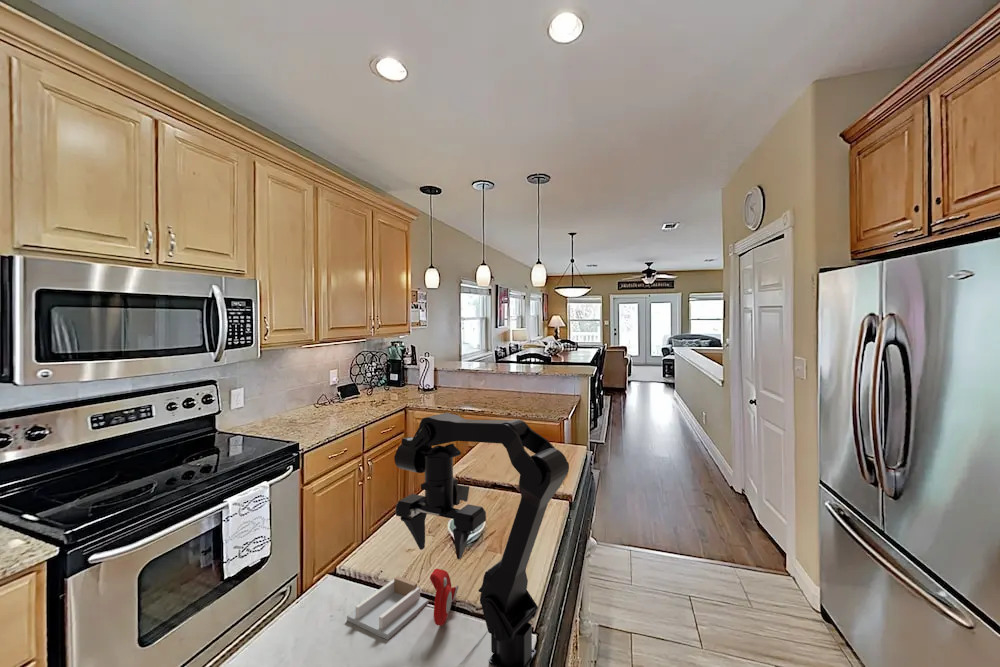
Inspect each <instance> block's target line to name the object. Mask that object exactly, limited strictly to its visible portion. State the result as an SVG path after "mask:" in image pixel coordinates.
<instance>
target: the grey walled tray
mask: <svg viewBox="0 0 1000 667" xmlns="http://www.w3.org/2000/svg"><path fill="white" fill-rule="evenodd" d="M393 578H394V579H392V580H391V581H389V582H388V583H386V584H385V585H384V586H382V587H380V588H379V589H377V591H375V592H373V593H372V594H371V595H369V596H368V597H367V598H365V599H364V600H362V601H361V602H359V603H358V604H356V605H355V609H354V610H353V611H351V612H350V613H349V614H347V616H346V621H347V622H349V623H351V624H353V625H355V626H357V627H359V628H361V629H364V630H366V631H368V632H370V633H372V634H373V635H374V634H375V635H376V636H379V637H381V638H382V639H385V640H387V641H389V639H390V638H392V637H393V636H394V635H395V634H396V633H397V632H398V631H400V630H401V629H402V628H403V627H404V626H406V625H407V624H408V623H410V621H411V620H413V618H415V617H416V616H417V615H418V614H419V613H420V612H421V611H422V610H423V609H424V608H425V607H426V606H427V605H428V604H429V599H427V598H425V597H422V596H421V588H420V587H418V583H417V582H415V581H413V580H409V579H406V578H404V577H401V576H399V575H397V576H395V577H393Z"/></svg>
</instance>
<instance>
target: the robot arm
mask: <svg viewBox="0 0 1000 667" xmlns="http://www.w3.org/2000/svg"><path fill="white" fill-rule="evenodd" d="M453 442H467V443H468V442H470V443H471V442H472V443H483V444H485V443H487V444H502V446H503V447H504V448H505V449H506V451H507V455H508V457H509V461H510V462H511V465H512V467H514V469H515V470H516V472H517V473H518V474H519V480H518V488H519V491H520V497H521V498H520V501H519V505H518V508H517V510H516V513H515V516H514V520H513V524H512V526H511V529H510V532H509V535H508V539H507V542H506V545H505V548H504V551H503V555H502V557H501V559H500V560H499V561H498V562H497V563H495V564H494V565H493V566H491V567H490V568H489V569H487V570H486V571H485V572H484V574H483V580H482V584H481V586H480V588H479V589H478V592H479V593H480V597H479V603H480V605H481V609H482V613H483V616H484V620H485V621H484V622H485V624H486V629H487V631H488V633H489V634H490V638H491V639H490V640H491V642H490V643H491V644H490V645H491V646H490V648H491V650H490V651H491V653H492V655H491V656H490V657H489V658H488V664H489V665H491V666H494V667H529V665H530V663H531V662H532V661H533V659H534V658H535V656H536V653H537V650H536V649H535V648H533V640H532V639H533V635H532V634H533V633H532V632H533V626H532V623H530V621H531V620H532V619H533V618H535V617H536V615H537V613H538V610H539V607H538V605H537V602H535V600H534V599H533V597H532V595H531V594H530V592H529V591H528V582H529V581H528V576H527V571H526V570H527V566H528V563H529V561H530V557H531V555H532V552H533V548H534V546H535V542H536V540H537V537H538V534H539V532H540V528H541V525H542V522H543V520H544V517H545V513H546V510H547V507H548V504H549V502H550V501H551V499H552V498H553V497H554V496H555V495H556V493H557V492H558V491H559V489H560V488H561V486H562V485H563V482H564V481H565V480H566V477H567V475H568V474H569V470H570V464H569V461H568V460H567V458H566V456H565V455H564V453H563V452H562V451H561V450H559V449H557V448H556V447H554V446H553V444H552V443H551V442H550V441H549V440H548V439H547V438H545V437H544V436H542V435H541V434H539V433H538V432H536V431H534V430H533V429H532V428H531V427H530V426H529V425H528V424H527V423H526V421H524V420H522V419H520V418H519V419H518V418H515V419H511V420H509V419H508V420H506V419H504V420H503V419H501V420H500V419H467V418H464V417H461V416H460V415H458V414H453V413H450V412H444V413H439V414H433V415H431V416H426V417H423V418H422V419H421V420H420V423H419V425H418V428H417V430H416V432H415V433H414V435H413V436H412V437H411V436H407V437H404V438H403V437H402V438H401V443H400V445H399V446H398V447H397V449H396V451H395V454H394V455H393V456H394V464H395V466H396V467H397V468H399V469H401V470H404V471H408V472H409V471H410V472H413V473H417V474H423V473H424V482H423V483H420V489H421V490H424V495H420V494H414V493H411V494H409V495H408V496H406V497H404V498H402V499H400V500H398V501H397V502H396V505H395V517H400V520H401V521H402V522H404V524H405V526H406V527H407V530H408V531H409V532H410V534H411V535H412V537H413V540H414V541H415V543H416V545H417V547H418V549H419V550H421V551H423V550H424V549H425V545H426V523H425V522H426V518H427V515H432V516H437V517H442V518H447V519H452V520H453V526H454V527H455V528H453V530H452V534H453V540H454V550H455V555H456V559H457V560H461V559H462V557H463V555H464V552H465V549H466V546H467V542H468V539H469V537H470V534H471V532H473V531H475V530H476V529H477V528H479V527H480V526H481V525H483V523H485V522H486V521H487V516H486V515H487V513H486V510H485V508H484V507H483V506H479V505H475V504H474V505H473V504H469V503H467V504H466V505H465V506H463V507H461V508H460V509H459V508H455V506H458V505H459V504H461V502H462V501H463V502H468V500H469V493H470V492H469V491H470V486H469V485H464V484H463V485H462V484H458V479H457V478H454V468H453V467H454V465H453V464H454V460H453V458H456V457H459V456H461V455H462V452H461V451H460V450H459V448H458V447H456V446H455V444H454V443H453ZM445 444H446V445H445ZM433 446H434V447H433ZM525 448H526V449H527V450H528V451H531V452H532V453H533V455H530V454H529V453H528V452H527V451H526V449H525Z"/></svg>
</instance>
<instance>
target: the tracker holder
mask: <svg viewBox="0 0 1000 667" xmlns="http://www.w3.org/2000/svg"><path fill="white" fill-rule="evenodd" d="M429 579H430V582H431V583H432V585H433V587H434V590H435V596H434V605H433V620H434V623H435V625H437V626H443V625H444V624H445V623H446V621H447V619H448V616H449V614H450V612H451V608H452V605H453V604H452V603H454V602H456V598H457V594H458V590H459V588H460V587H459V585H456V586H453V587H452V583H451V578H450V575H449V573H448V571H446V570H445V569H441V568H440V569H439V568H435V569H433V570H432V572H431V574H430V576H429Z"/></svg>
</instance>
